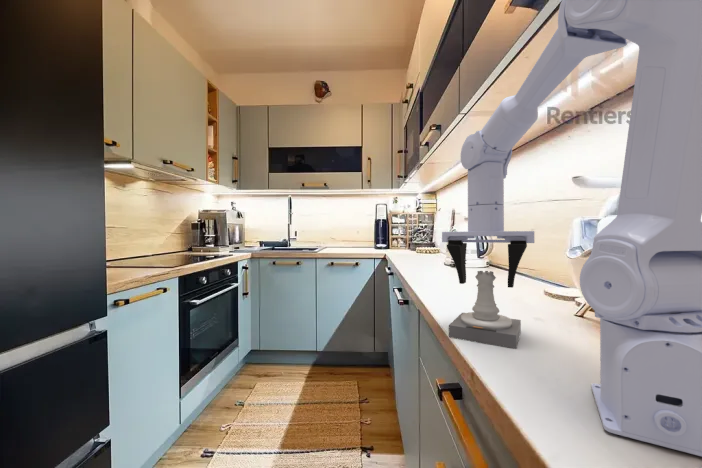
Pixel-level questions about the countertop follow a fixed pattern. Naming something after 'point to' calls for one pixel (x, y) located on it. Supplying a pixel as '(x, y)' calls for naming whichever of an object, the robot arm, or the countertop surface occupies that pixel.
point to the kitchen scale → (486, 330)
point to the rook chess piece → (485, 298)
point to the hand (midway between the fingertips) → (485, 284)
